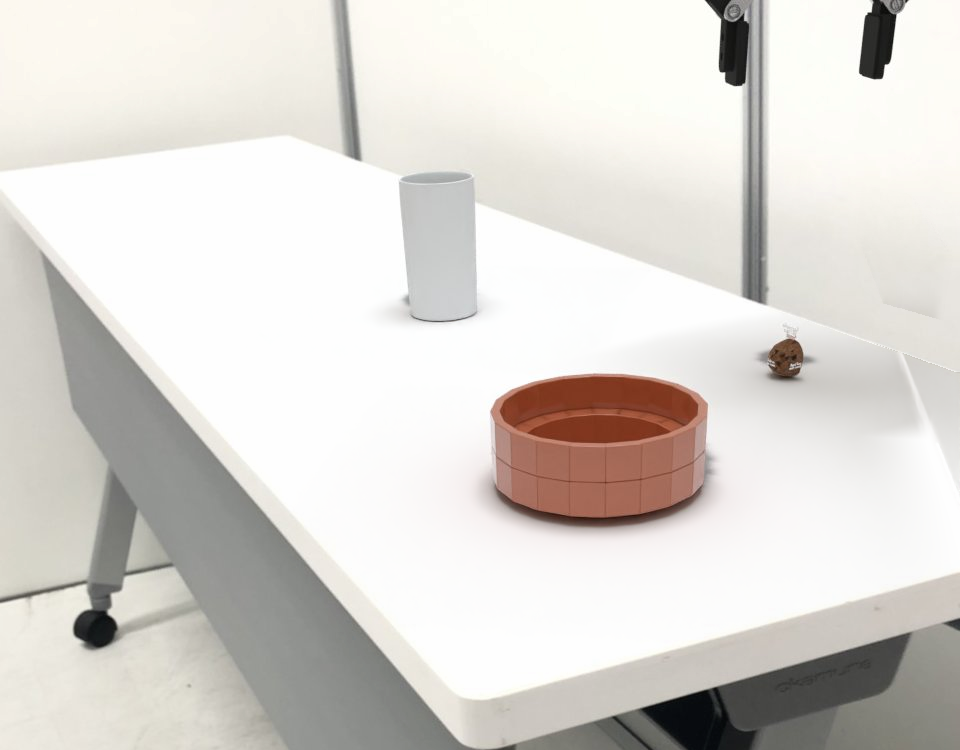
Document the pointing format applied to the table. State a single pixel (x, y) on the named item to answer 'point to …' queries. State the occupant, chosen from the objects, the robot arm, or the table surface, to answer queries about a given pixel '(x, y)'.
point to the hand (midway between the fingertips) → (802, 80)
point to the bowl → (599, 444)
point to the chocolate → (786, 355)
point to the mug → (440, 243)
